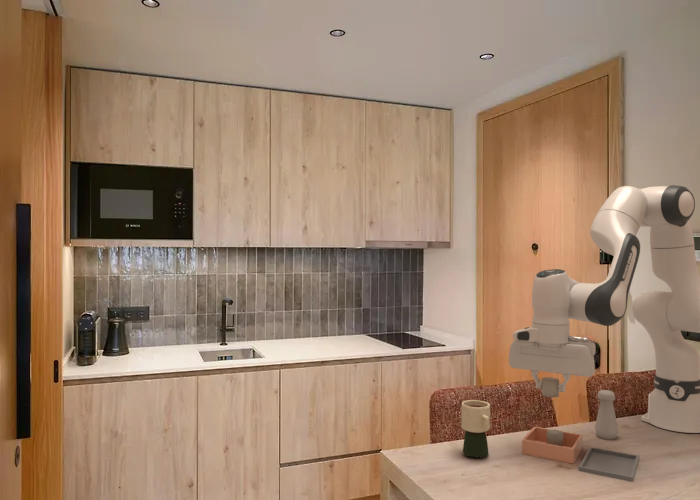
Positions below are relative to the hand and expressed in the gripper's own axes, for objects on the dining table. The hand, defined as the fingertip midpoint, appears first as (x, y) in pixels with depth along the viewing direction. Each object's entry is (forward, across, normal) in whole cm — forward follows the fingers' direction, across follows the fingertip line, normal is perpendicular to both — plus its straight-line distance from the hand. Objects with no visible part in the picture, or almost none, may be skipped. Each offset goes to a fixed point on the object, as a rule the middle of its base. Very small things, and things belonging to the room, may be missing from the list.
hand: (550, 389), depth 136 cm
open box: (+17, 0, -3) cm, 17 cm away
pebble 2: (+16, 0, -5) cm, 17 cm away
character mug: (+17, +16, +9) cm, 25 cm away
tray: (+17, -13, -1) cm, 21 cm away
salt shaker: (+17, -10, -22) cm, 29 cm away
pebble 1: (+1, 0, 0) cm, 1 cm away
